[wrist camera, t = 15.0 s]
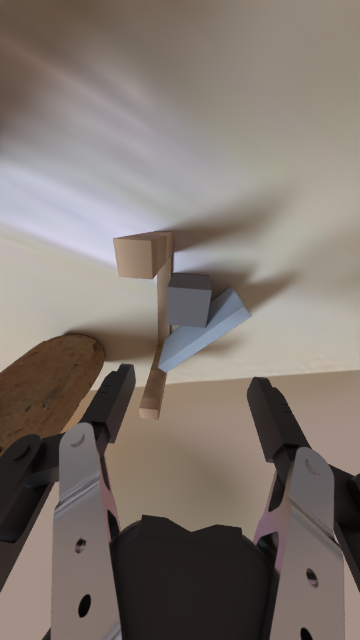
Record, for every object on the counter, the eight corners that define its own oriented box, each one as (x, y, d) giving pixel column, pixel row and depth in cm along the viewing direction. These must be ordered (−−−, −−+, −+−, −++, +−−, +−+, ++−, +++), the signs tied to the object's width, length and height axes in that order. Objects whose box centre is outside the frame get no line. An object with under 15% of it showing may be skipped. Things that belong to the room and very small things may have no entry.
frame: (158, 354, 31) (140, 417, 21) (154, 231, 20) (113, 238, 10) (170, 355, 31) (158, 419, 21) (173, 232, 20) (151, 240, 10)
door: (165, 339, 28) (157, 367, 23) (231, 286, 22) (243, 306, 17) (176, 348, 29) (171, 376, 24) (242, 299, 23) (257, 322, 18)
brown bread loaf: (107, 338, 30) (-8, 486, 13) (108, 364, 34) (22, 505, 17) (50, 326, 30) (-144, 463, 13) (58, 354, 34) (-81, 488, 17)
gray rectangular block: (172, 304, 25) (166, 324, 20) (173, 272, 23) (167, 286, 17) (203, 306, 25) (205, 327, 20) (208, 275, 22) (211, 290, 17)
